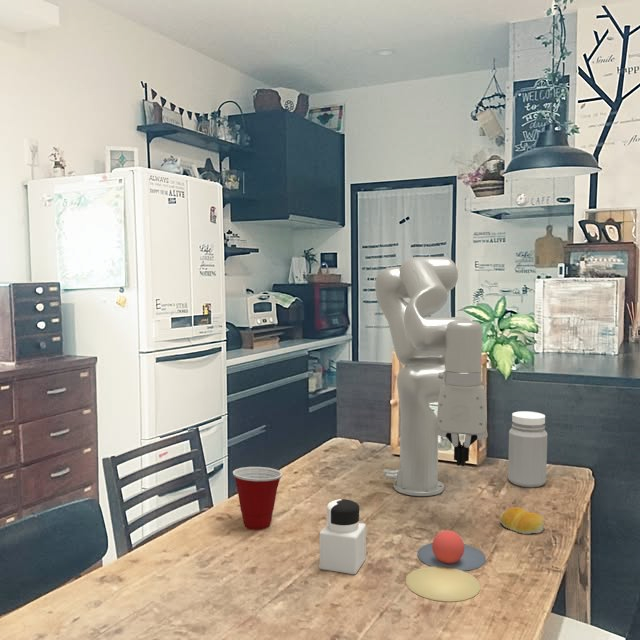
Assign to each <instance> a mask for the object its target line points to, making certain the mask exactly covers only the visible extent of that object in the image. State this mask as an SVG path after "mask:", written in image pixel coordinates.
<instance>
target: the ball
mask: <svg viewBox="0 0 640 640" xmlns="http://www.w3.org/2000/svg"><path fill="white" fill-rule="evenodd" d="M431 543H432V549H433V553H434V555H435V556H436V558H437V559H438V560H440V561H441V562H443V563H447V564H452V563H455V562H457V561H458V560H460V558H461V557H462V556H463V553H464V544H465V543H464V540H463V539H462V537H461V536H460V535H459V534H458V533H457V532H456V531H453V530H442V531H439V532H438V533H437V534H436V535H435V537H433V540H432V542H431Z"/></svg>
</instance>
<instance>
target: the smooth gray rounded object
mask: <svg viewBox="0 0 640 640" xmlns="http://www.w3.org/2000/svg"><path fill="white" fill-rule="evenodd" d="M432 543H433V542H431V543H428V544H425V545H422V546H420V548H419V549H418V550H417V558H418V559H419V560H420V561H421V562H422V563H423V564H425V565H426V566H428V567H434V566H435V567H436V566H438V567H443V568H442V569H444V567H447V568H454V569H458V570H461V571H464V572H468V571H473V570H474V571H475V570H477V569H479V568H481V567H483V566H484V565H485V563H486V560H487V558H486V554H485V553H484V552H483V551H481V550H480V549H478V548H476V547H474V546H472V545H469V544H466V543H464V553H463V556H462V557H461V558H460V560H458V561H457V562H455V563H452V564H447V563H443V562H441V561H440V560H438V559H437V558H436V556H435V555H434V553H433V549H432ZM438 567H437V568H438ZM447 568H446V569H447ZM449 570H450V569H449Z"/></svg>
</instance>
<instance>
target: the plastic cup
mask: <svg viewBox="0 0 640 640" xmlns="http://www.w3.org/2000/svg"><path fill="white" fill-rule="evenodd" d="M283 474H284V473H283V472H282V471H280V470H278V469H276V468H271V467H265V466H247V467H246V466H245V467H239V468H236V469H234V470H233V471H232V475H233V478H234V480H235V483H236V484H235V485H236V489H237V496H238V502H239V507H240V511H241V517H242V518H241V519H242V523H243V525H244V528H245V529H247V530H251V531H252V530H253V531H260V530H261V531H262V530H265V529H268V528H270V526H271V523H272V519H273V512H274V509H275V503H276V498H277V492H278V487H279V484H280V480H281V478H282V477H283Z"/></svg>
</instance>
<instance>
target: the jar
mask: <svg viewBox="0 0 640 640" xmlns="http://www.w3.org/2000/svg"><path fill="white" fill-rule="evenodd" d="M511 414H512V415H511V421H512V423H511V428H510V429H509V431H508V461H507V462H508V463H507V464H508V465H507V466H508V467H507V479H508V481H510V483H512V484H513V485H515V486H519V487H521V488H522V487H523V488H539V487H542V486H543V485H544V484H546V482H547V462H548V459H547V458H548V432H547V431H546V430H545V429H546V415H545V414H544V413H540V412H537V411H526V410H524V411H523V410H522V411H521V410H520V411H516V412H512V413H511Z"/></svg>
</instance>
